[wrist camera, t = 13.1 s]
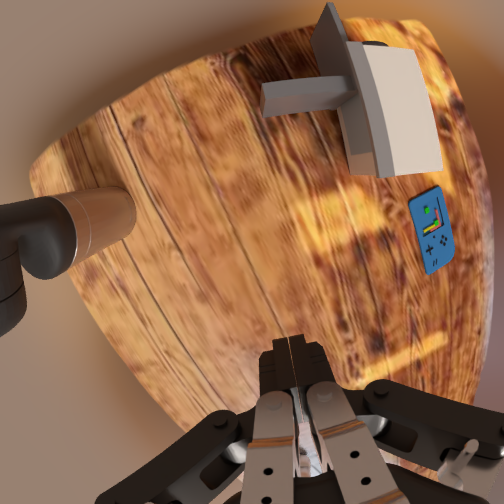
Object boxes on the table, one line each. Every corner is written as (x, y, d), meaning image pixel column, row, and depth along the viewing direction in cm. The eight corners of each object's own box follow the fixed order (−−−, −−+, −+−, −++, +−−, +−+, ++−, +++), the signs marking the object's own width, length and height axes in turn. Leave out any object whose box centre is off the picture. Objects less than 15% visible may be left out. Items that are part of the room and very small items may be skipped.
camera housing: (338, 176, 40) (379, 178, 26) (314, 70, 35) (340, 27, 21) (392, 169, 40) (447, 170, 25) (369, 68, 35) (411, 34, 21)
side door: (262, 119, 37) (266, 96, 25) (244, 47, 34) (242, 7, 22) (334, 110, 36) (363, 88, 25) (314, 40, 33) (332, 2, 21)
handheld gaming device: (428, 276, 44) (409, 202, 40) (425, 274, 45) (406, 201, 41) (457, 257, 43) (441, 185, 39) (454, 255, 44) (437, 185, 40)
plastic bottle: (282, 455, 58) (287, 514, 39) (306, 449, 58) (316, 509, 38) (288, 464, 60) (294, 520, 41) (311, 458, 59) (321, 514, 40)
